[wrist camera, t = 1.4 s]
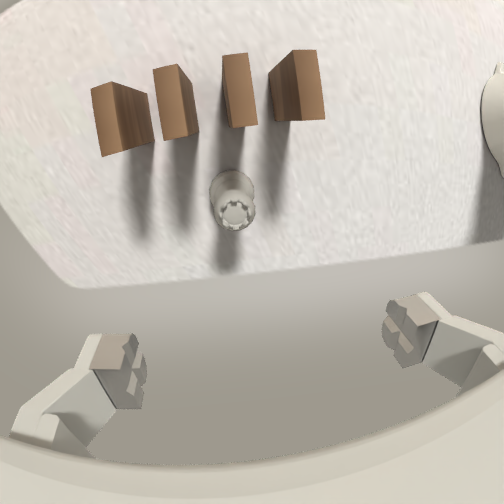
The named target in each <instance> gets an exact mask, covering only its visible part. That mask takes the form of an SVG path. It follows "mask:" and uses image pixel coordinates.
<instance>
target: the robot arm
mask: <svg viewBox="0 0 504 504" xmlns="http://www.w3.org/2000/svg"><path fill="white" fill-rule="evenodd" d="M482 123H483V130H484V134H485V138H486V141H487V144H488V147H489V149H490V151H491V153H492V155H493V156H494V158H495V159H496V161H497V162H498V164H499V167H500V171H501V174H502V177H503V178H504V63H501V62H499V63H498V64H497V67H496V70H495V74H494V75H493V76H492V77H491V78H490V79H489V80H488V82H487V83H486V86H485V88H484V92H483V97H482ZM386 312H387V313H388V316H387V317H386V319H385V320H384V321H383V325H382V337H383V339H384V342H385V343H386V345H387V346H388V347H389V348H391V349H393V350H394V357H395V358H396V360H397V361H398V363H399V364H400V365H401V367H402V368H406V367H409V366H412V365H415V364H418V363H421V362H422V363H423V364H424V365H426V366H428V367H429V368H431V369H432V370H434V371H435V372H437V373H439V374H440V375H442V376H444V377H445V378H447V379H449V380H450V381H452V382H454V383H455V384H457V385H459V386H460V387H461V389H460V390H459V392H458V393H457V395H456V397H455V398H453V399H452V400H450V401H448V402H446V403H444V404H442V405H440V406H437V407H435V408H433V409H431V410H429V411H427V412H424V413H423V414H420V415H418V416H415V417H413V418H411V419H408V420H406V421H403V422H401V423H398V424H396V425H393V426H390V427H388V428H385V429H382V430H379V431H376V432H373V433H371V434H368V435H364V436H361V437H358V438H355V439H351V440H349V441H345V442H341V443H338V444H334V445H330V446H326V447H322V448H318V449H313V450H309V451H305V452H300V453H295V454H289V455H284V456H278V457H273V458H265V459H259V460H250V461H243V462H231V463H218V464H198V465H160V464H140V463H127V462H117V461H109V460H101V459H96V457H94V455H92V454H91V452H90V451H88V450H87V448H86V447H87V446H88V445H89V443H90V442H91V440H93V438H94V437H95V436H96V435H97V434H98V432H99V431H100V430H101V429H102V428H103V426H104V425H105V424H106V423H107V421H108V420H109V419H110V417H112V415H113V414H114V413H115V412H116V409H141V407H142V401H143V395H144V392H143V390H142V388H141V386H142V385H143V384H144V383H145V382H146V377H147V370H146V362H145V358H144V356H143V354H142V353H141V352H140V351H138V350H137V348H138V344H139V343H138V341H137V338H136V336H135V335H134V334H133V333H131V334H129V333H128V334H91V335H89V336H88V338H87V340H86V342H85V344H84V346H83V349H82V351H81V353H80V355H79V357H78V360H77V362H76V365H75V367H74V369H69V370H67V371H66V372H65V373H64V374H62V375H61V376H60V377H58V378H57V379H56V380H55V381H54V382H52V383H51V384H49V385H48V386H47V387H46V388H44V389H43V390H42V391H41V392H39V393H38V394H37V395H35V396H34V397H33V398H32V399H30V400H29V401H28V402H27V403H25V404H24V405H23V406H22V407H21V408H20V410H19V412H18V415H17V417H16V420H15V422H14V425H13V427H12V430H11V432H10V435H9V438H8V437H5V436H3V435H0V504H504V333H501V332H499V331H496V330H494V329H491V328H488V327H485V326H483V325H480V324H478V323H475V322H472V321H470V320H467V319H464V318H462V317H459V316H456V315H454V316H451V314H450V313H449V312H448V311H447V310H446V309H444V307H442V306H441V305H440V304H439V303H438V302H437V301H436V300H435V299H434V298H433V297H432V296H431V295H430V294H429V293H427V292H421V293H418V294H414V295H411V296H407V297H403V298H399V299H394V300H390V301H389V303H388V304H387V308H386Z"/></svg>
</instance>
